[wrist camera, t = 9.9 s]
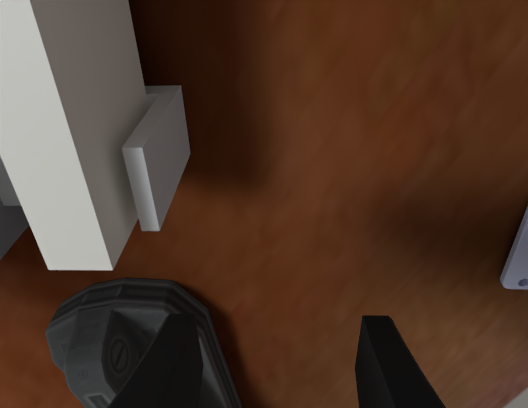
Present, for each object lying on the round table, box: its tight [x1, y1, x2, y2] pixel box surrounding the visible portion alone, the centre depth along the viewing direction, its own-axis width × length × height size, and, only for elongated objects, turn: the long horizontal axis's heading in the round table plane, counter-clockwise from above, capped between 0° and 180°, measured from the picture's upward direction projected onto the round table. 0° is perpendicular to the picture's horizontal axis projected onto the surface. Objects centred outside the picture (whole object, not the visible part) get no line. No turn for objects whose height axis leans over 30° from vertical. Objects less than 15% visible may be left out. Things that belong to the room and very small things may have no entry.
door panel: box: [0, 0, 149, 270], centre depth 12 cm, size 12×2×6 cm, turn 2°
